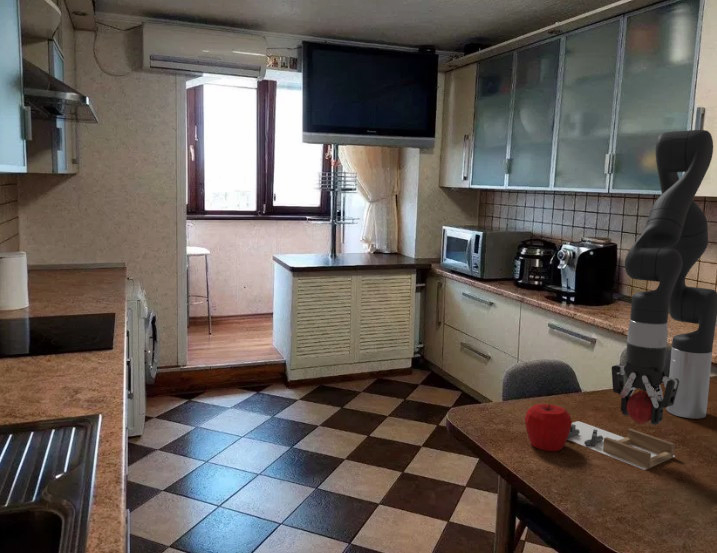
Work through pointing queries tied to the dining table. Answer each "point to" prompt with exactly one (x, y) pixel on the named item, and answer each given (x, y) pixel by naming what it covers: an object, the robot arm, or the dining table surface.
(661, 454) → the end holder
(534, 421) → the apple
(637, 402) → the onion
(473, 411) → the dining table surface
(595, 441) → the board
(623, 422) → the dining table surface
